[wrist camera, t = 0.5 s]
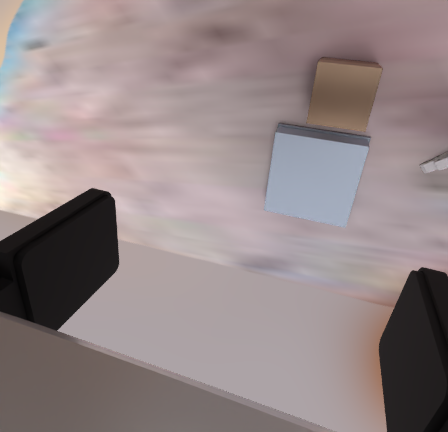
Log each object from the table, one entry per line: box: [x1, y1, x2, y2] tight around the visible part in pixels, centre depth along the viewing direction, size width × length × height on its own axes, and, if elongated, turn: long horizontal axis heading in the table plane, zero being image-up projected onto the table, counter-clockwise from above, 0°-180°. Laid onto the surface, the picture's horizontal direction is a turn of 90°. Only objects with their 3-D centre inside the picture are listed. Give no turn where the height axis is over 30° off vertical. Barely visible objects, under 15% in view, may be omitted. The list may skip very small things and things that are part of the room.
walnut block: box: [306, 57, 383, 132], centre depth 31 cm, size 5×5×6 cm
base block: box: [264, 123, 370, 228], centre depth 37 cm, size 9×9×3 cm
